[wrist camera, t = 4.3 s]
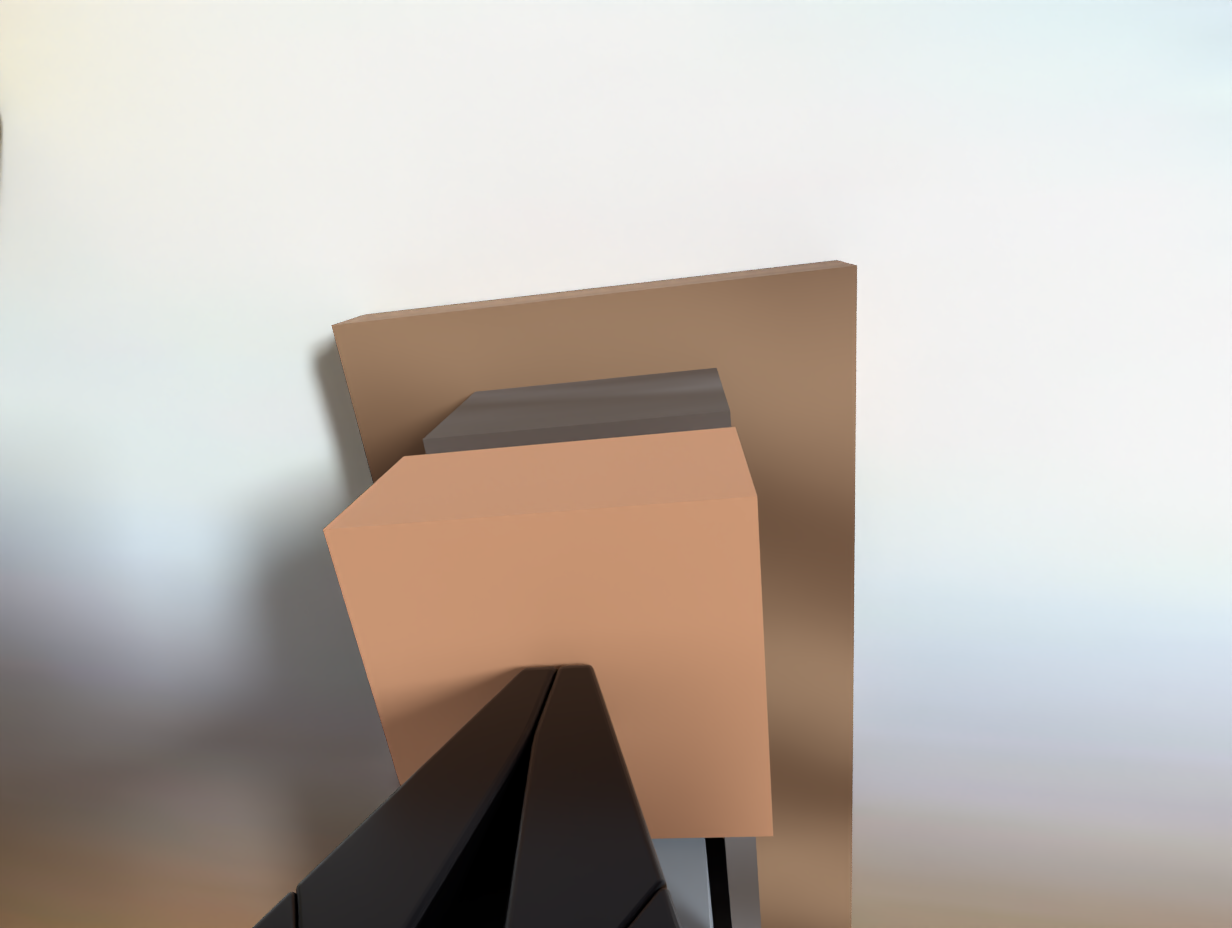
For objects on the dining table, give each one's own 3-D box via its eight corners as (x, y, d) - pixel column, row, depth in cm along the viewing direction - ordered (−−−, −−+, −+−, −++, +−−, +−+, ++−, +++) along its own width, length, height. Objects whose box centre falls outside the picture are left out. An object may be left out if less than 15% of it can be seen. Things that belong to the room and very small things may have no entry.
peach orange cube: (734, 604, 13) (773, 835, 8) (507, 617, 14) (417, 843, 9) (719, 377, 12) (757, 495, 7) (463, 402, 12) (322, 529, 7)
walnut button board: (837, 1023, 21) (879, 1220, 17) (538, 1020, 22) (508, 1204, 18) (836, 260, 13) (915, 280, 9) (364, 314, 14) (238, 355, 10)
